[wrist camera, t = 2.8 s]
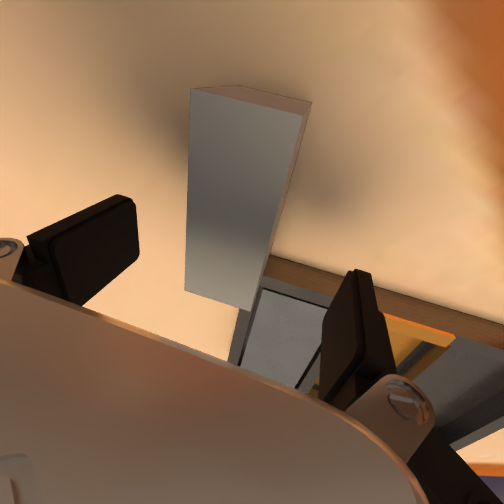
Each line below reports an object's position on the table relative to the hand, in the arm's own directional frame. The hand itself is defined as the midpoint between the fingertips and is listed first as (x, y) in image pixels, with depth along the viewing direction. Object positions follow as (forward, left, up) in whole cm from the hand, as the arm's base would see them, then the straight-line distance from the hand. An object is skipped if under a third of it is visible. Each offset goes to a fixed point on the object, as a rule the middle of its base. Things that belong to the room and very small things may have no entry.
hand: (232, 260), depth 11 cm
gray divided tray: (+11, +11, -7) cm, 17 cm away
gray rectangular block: (-1, -1, -7) cm, 7 cm away
